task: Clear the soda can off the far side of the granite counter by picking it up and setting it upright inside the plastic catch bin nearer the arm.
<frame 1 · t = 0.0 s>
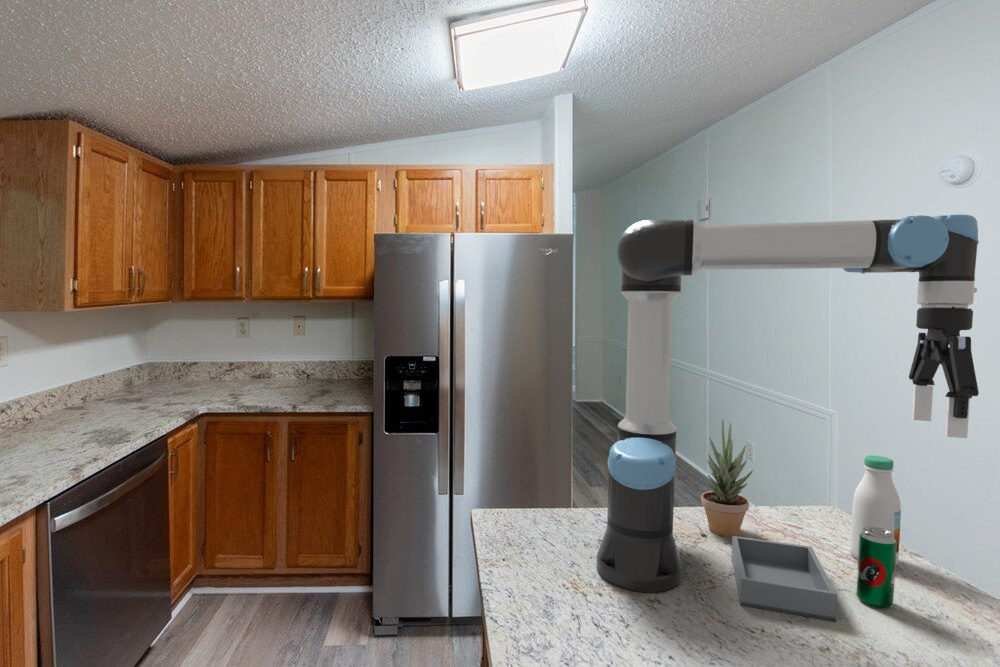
hand: (937, 428, 95), 28 cm above the countertop, fingers open, 13 cm apart
catch bin: (777, 586, 95), on the countertop
milk bottle: (873, 560, 106), on the countertop
soda can: (874, 603, 90), on the countertop
potted plant: (722, 531, 118), on the countertop
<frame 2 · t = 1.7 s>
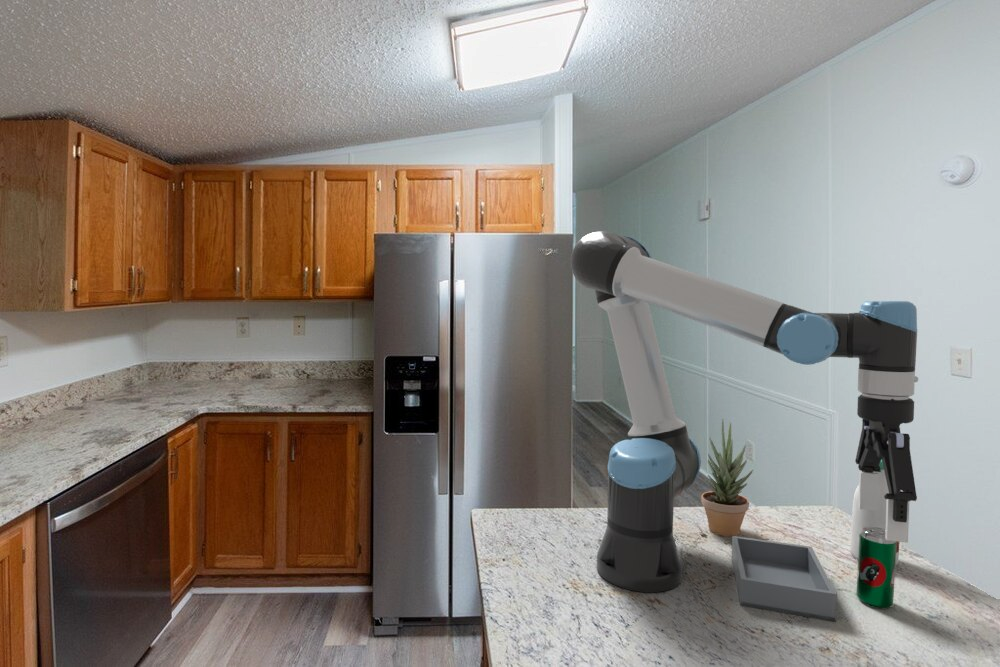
hand: (881, 523, 89), 13 cm above the countertop, fingers open, 13 cm apart
nothing on the countertop moved.
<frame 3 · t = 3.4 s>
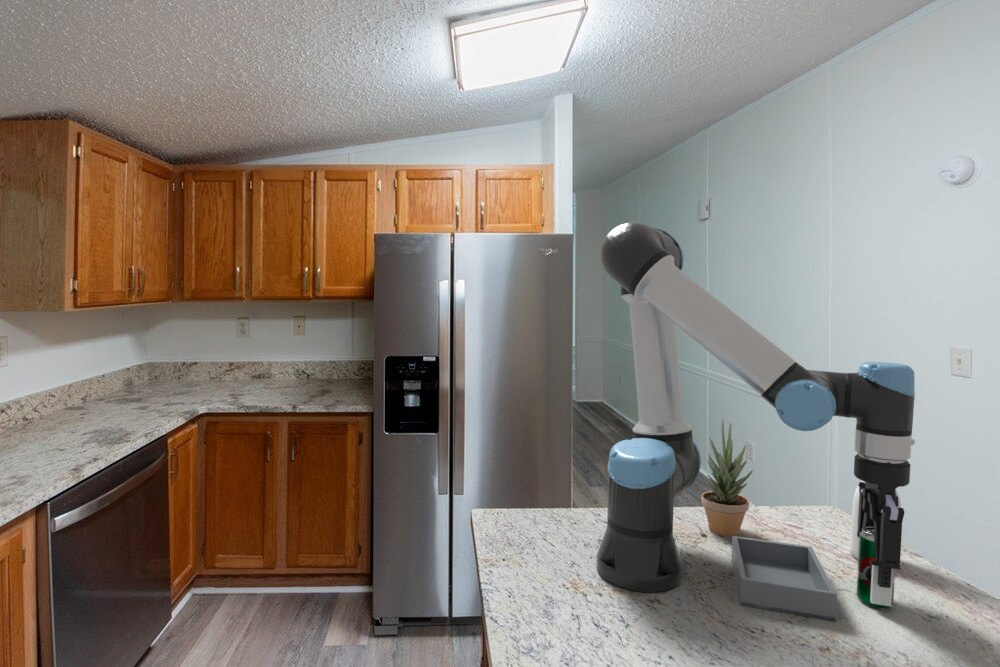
hand: (874, 594, 90), 1 cm above the countertop, fingers closed on soda can, 5 cm apart
soda can: (874, 603, 90), on the countertop, touching gripper
everything else where it was.
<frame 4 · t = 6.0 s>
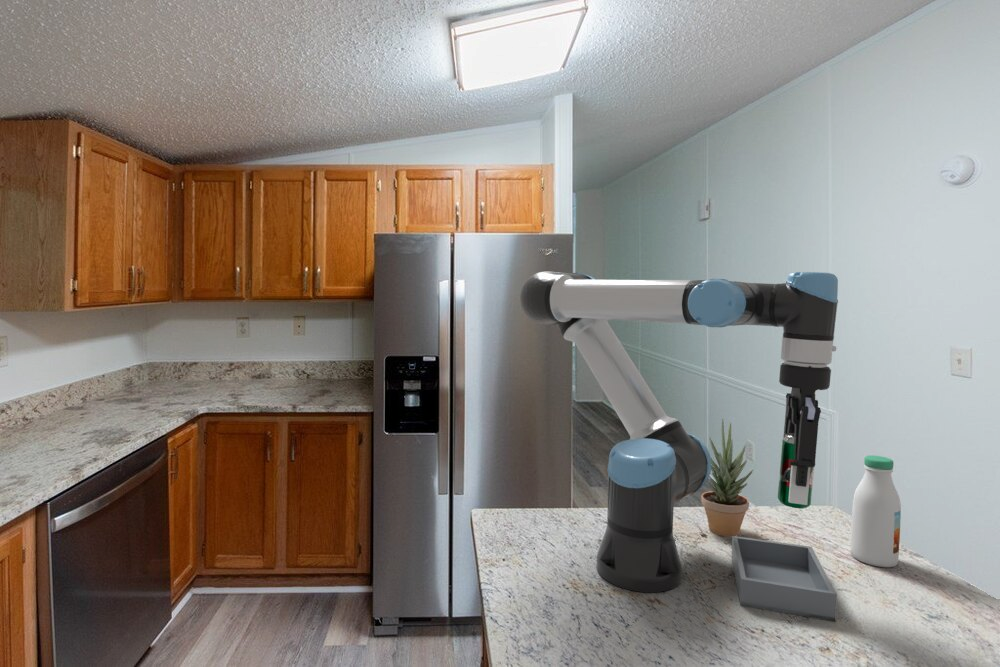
hand: (794, 496, 94), 16 cm above the countertop, fingers closed on soda can, 5 cm apart
soda can: (793, 505, 94), point 15 cm above the countertop, touching gripper
everything else where it was.
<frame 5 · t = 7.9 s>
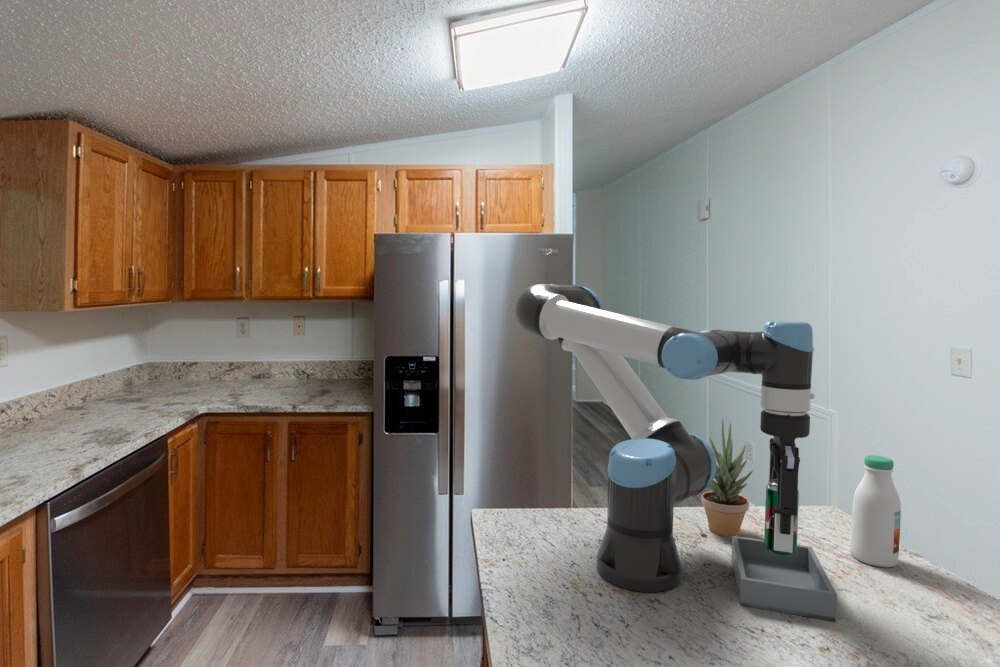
hand: (780, 543, 95), 8 cm above the countertop, fingers closed on soda can, 5 cm apart
soda can: (780, 551, 95), point 6 cm above the countertop, touching gripper
everything else where it was.
when the fingers open (4 cm above the countertop, at t = 9.0 s): soda can drops 2 cm, resting on catch bin.
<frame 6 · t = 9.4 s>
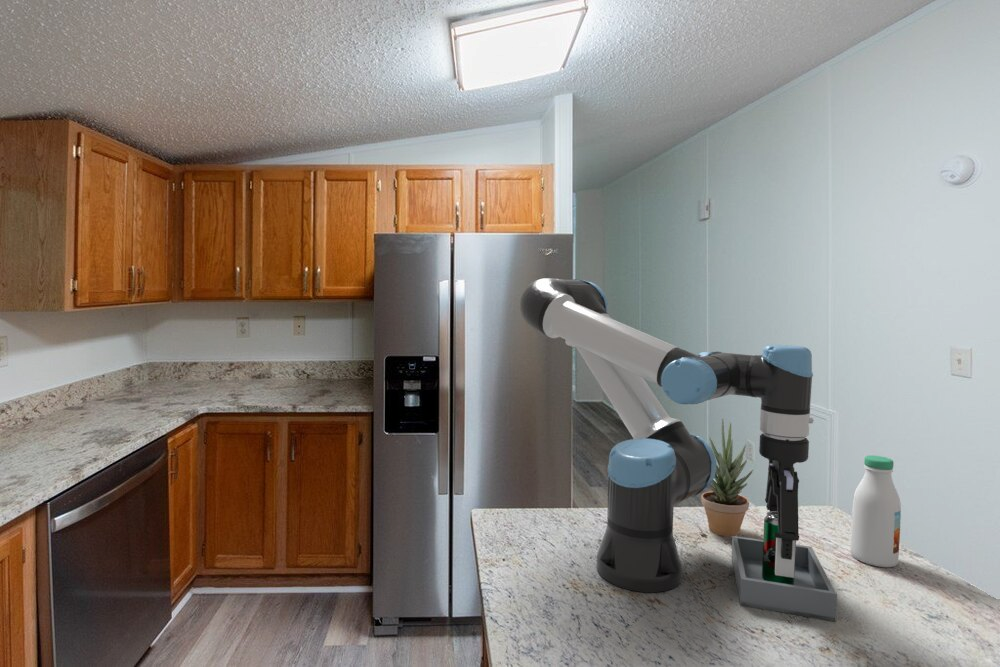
hand: (778, 560, 95), 5 cm above the countertop, fingers open, 10 cm apart
soda can: (777, 583, 95), resting on catch bin
everything else where it was.
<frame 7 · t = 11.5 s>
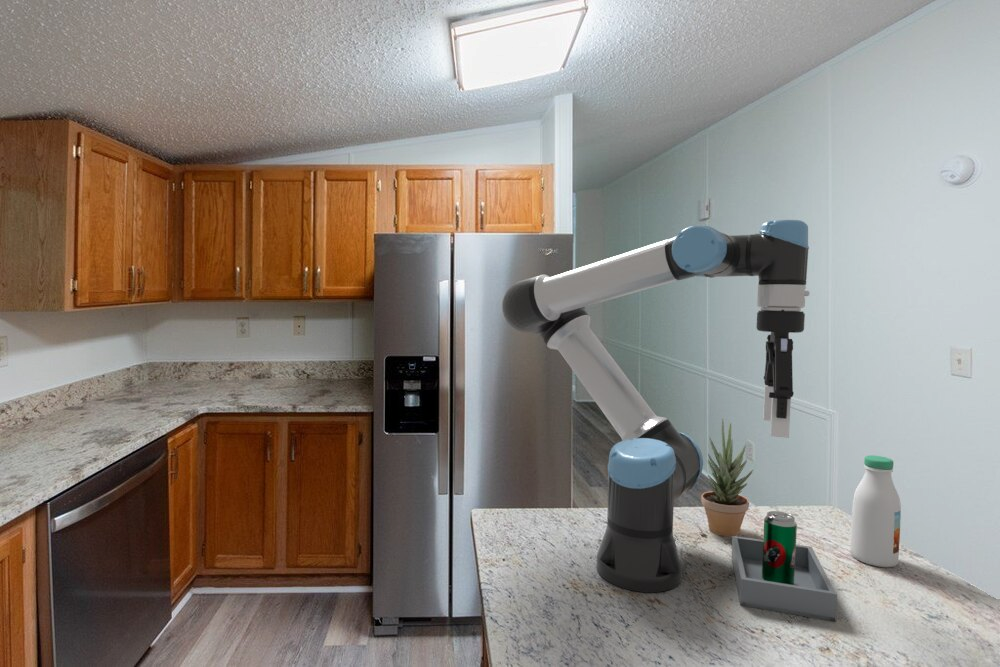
hand: (775, 428, 97), 27 cm above the countertop, fingers open, 13 cm apart
nothing on the countertop moved.
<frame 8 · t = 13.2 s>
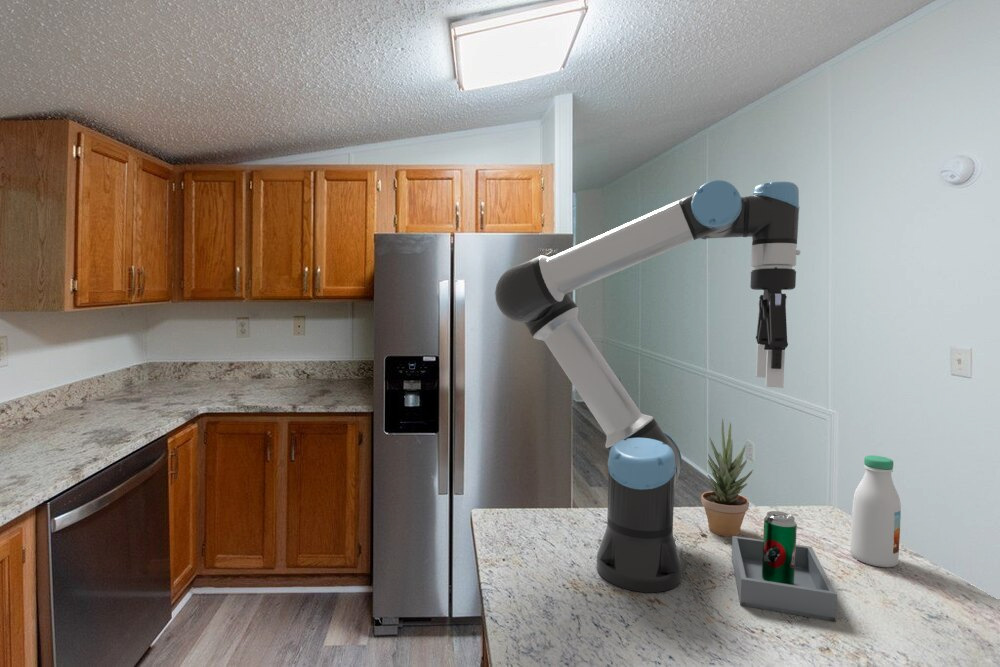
hand: (768, 382, 102), 35 cm above the countertop, fingers open, 13 cm apart
nothing on the countertop moved.
at the end: soda can inside the target area on the catch bin (0.1 cm from its centre), point 0.4 cm above the catch bin's base; soda can touching catch bin; soda can tilted 0° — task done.
